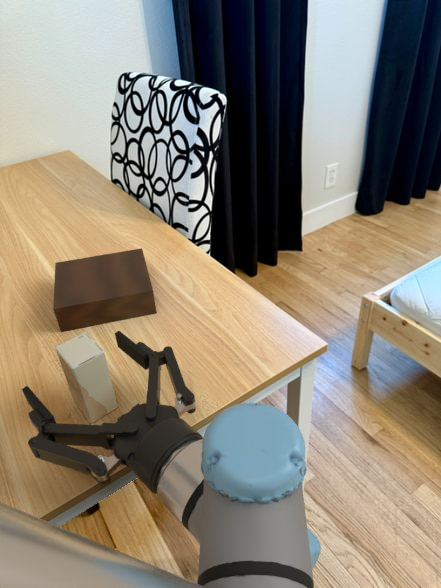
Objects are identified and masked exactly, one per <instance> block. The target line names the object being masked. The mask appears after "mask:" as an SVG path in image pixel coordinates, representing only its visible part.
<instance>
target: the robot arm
mask: <svg viewBox="0 0 441 588" xmlns="http://www.w3.org/2000/svg"><path fill="white" fill-rule="evenodd" d="M114 336H115V340H116V341H115V342H116V344H117V348H119V350H121V351H122V352H123V353H125V354H126V355H127V356H128V357H129V358H130V359H131V360H132V361H134V362H135V363H137V364H138V365H139V366H140V367H141V368H142V369H143V370H145V371H147V370H148V374H147V375H148V377H147V378H148V379H147V390H146V398H145V399H146V401H145V402H143V403H137V404H135V405H134V406H132V408H131V409H130V410H129V411H128V412H126V413H124V414H122V415H120V416H119V417H117V418H116V422H103V423H101V424H84V423H83V424H81V423H80V424H79V423H62V422H57V421H56V418H55V416H54V415H53V414H52V413H51V411H50V410H49V409H48V408H47V407H46V406H45V404H44V403H43V402H42V401H41V399H40V398H39V397H38V396H37V395H36V394H35V393H34V392H33V390H32V389H31V388H30V387H29V386H28V385H26V386H24V387H23V388H21V391H22V394H23V395H24V397H25V399H26V401H27V404H28V405H29V407H31V408H32V410H31V411H29V412H28V418H29V421H30V422H31V424H32V426H34V428H35V429H36V430H37V431H38V432H37V434H36V435H35V436H32V437H30V438H29V439H28V441H27V444H28V447H29V448H30V451H31V453H32V454H33V456H34V458H35V459H38V460H41V461H45V462H48V463H51V464H53V465H57V466H60V467H63V468H66V469H68V470H72V471H74V472H75V471H76V472H78V473H82V474H85V475H88V476H90V477H91V478H93V480H95V481H96V482H98V484H99V485H101V486H107V485H108V484H110V482H111V475H112V474H113V473H114V472H115V471H116V470H117V469H118V468H119V467H120V466H121V465H122V466H126V467H127V468H129V469H130V470H131V471H132V472H133V473H134V475H135V476H136V477H137V478H138V479H139V481H141V482H142V483H143V484H144V485H145V486H146V488H148V490H149V491H150V492H151V493H152V494H154V495H156V496H157V500H159V501H160V503H161V504H162V505H163V506H164V507H165V508H166V509H167V510H168V512H169V513H171V515H172V516H173V517H174V518H175V519H176V520H177V521H178V523H180V524H181V526H182V527H184V528H185V529H186V530H187V531H188V532H189V533H190V534H191V535H192V537H193V538H194V539H195V540H196V541H197V542H198V543H199V557H198V572H197V573H198V574H197V576H198V577H197V581H196V582H194V581H192V580H190V579H186V578H184V577H182V576H180V575H178V574H175V573H172V572H170V571H168V570H165V569H163V568H160V567H158V566H156V565H153V564H150V563H149V562H147V561H144V560H142V559H138V558H136V557H134V556H132V555H129V554H127V553H124V552H122V551H119V550H117V549H115V548H112V547H109V546H108V545H105V544H103V543H100V542H97V541H96V540H93V539H91V538H88V537H87V536H83V535H81V534H78V533H76V532H73V531H72V530H68V529H67V528H64V527H62V526H59V525H57V524H54V523H52V522H49V521H47V520H45V519H42V518H40V517H38V516H35V515H33V514H31V513H27V512H25V511H23V510H21V509H18V508H16V507H13V506H11V505H8V504H6V503H3V502H1V501H0V588H315V587H314V586H315V583H314V582H315V581H314V573H313V570H314V569H315V567H316V564H317V562H318V561H319V558H320V555H321V551H322V546H321V545H322V544H321V542H320V540H319V538H318V537H317V536H316V535H315V534H314V533H313V532H312V531H311V530H310V528H308V523H307V514H306V507H305V499H304V489H303V482H304V481H305V476H306V474H307V464H306V443H305V442H306V441H305V439H304V436H303V433H302V431H301V428H299V426H298V424H297V423H296V422H295V421H294V419H293V418H292V417H291V416H290V415H288V414H287V413H286V412H284V411H283V410H281V409H280V408H277V407H276V406H273V405H271V404H268V403H262V402H241V403H236V404H233V405H231V406H229V407H227V408H225V409H223V410H222V411H220V412H219V413H218V414H217V415H215V416H214V418H213V419H212V420H211V421H210V423H209V424H208V426H206V427H207V428H206V429H205V432H204V434H203V436H202V434H201V433H199V431H197V430H196V429H195V428H194V427H192V426H191V425H190V424H189V423H188V422H186V421H185V419H183V418H181V417H182V416H183V415H185V414H186V413H187V414H194V413H195V412H196V411H197V407H196V405H197V404H196V397H195V393H193V392H192V391H191V390H190V389H189V388H188V386H186V382H185V380H184V377H183V374H182V371H181V369H180V366H179V364H178V361H177V358H176V355H175V353H174V350H173V347H172V346H170V345H169V346H165V347H164V348H163V350H159V351H157V350H153V349H152V348H151V347H149V346H148V345H147V344H145V343H144V342H143V341H138V342H134V341H133V340H132V339H130V337H128V336H126V334H124V333H123V332H122V331H121V330H117V331H116V332H114ZM164 365H165V366H166V370H167V373H168V376H169V379H170V382H171V385H172V389H173V391H174V394H175V398H174V403H175V405H174V406H173V405H169V404H161V376H162V375H161V372H162V366H164ZM77 447H93V448H94V447H95V448H103V449H104V450H107V451H112V452H113V454H112V455H110V456H105V455H103V454H98V455H95V454H93V453H91V452H89V451H86V450H83V449H80V448H77Z"/></svg>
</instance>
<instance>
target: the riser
mask: <svg viewBox="0 0 441 588" xmlns="http://www.w3.org/2000/svg"><path fill="white" fill-rule="evenodd" d="M154 294H155V293H154V289H153V285H152V281H151V277H150V274H149V270H148V266H147V262H146V257H145V254H144V251H143V248H142V247H141V248H135V249H129V250H123V251H117V252H111V253H106V254H105V253H104V254H100V255H94V256H88V257H80V258H75V259H70V260H63V261H58V262H55V264H54V283H53V307H52V310H53V313H54V316H55V317H56V321H57V324H58V327H59V330H60V332H61V333H64V332H68V331H73V330H79V329H85V328H89V327H94V326H99V325H103V324H108V323H109V324H110V323H113V322H119V321H124V320H128V319H129V320H130V319H135V318H140V317H144V316H149V315H154V314H157V306H156V299H155V295H154Z"/></svg>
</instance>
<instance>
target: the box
mask: <svg viewBox="0 0 441 588" xmlns="http://www.w3.org/2000/svg"><path fill="white" fill-rule="evenodd" d="M54 349H55V352H56V355H57V358H58V360H59V363H60V365H61V368H62V372H63V374H64V377H65V379H66V383H67V385H68V388H69V391H70V393H71V397H72V400H73V402H74V404H75V406H76V407H77V408H78V409H79V411H80V412H81V413H82V414H83V416H85V419H86V420H87V422H89V423H90V425H93V424H94V423H96V422H97V421H99V420H101V419H102V418H103V417H105V416H106V415H108V414H109V413H111V412H113V411H114V410H115V409H117V408H118V407H119V404H118V401H117V398H116V392H115V389H114V384H113V381H112V378H111V377H112V376H111V373H110V370H109V366H108V361H107V358H106V353H105V351H104V349H103V348H102V347H101V346H100V344H98V343H97V342H96V340H94V339H93V338H92V337H91V336H90V335H89V334H88V333H87V332H86V331H83V332H80V333H79V334H77V335H75V336H73V337H71V338H69V339H67V340H66V341H64V342H61V343H59V344H58V345H56V346H55V347H54Z"/></svg>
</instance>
